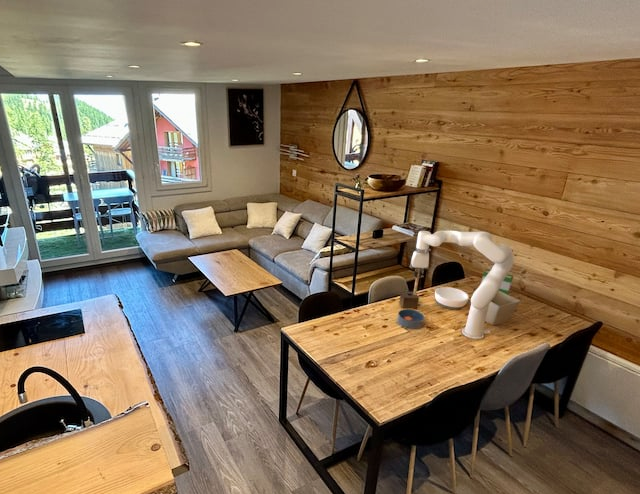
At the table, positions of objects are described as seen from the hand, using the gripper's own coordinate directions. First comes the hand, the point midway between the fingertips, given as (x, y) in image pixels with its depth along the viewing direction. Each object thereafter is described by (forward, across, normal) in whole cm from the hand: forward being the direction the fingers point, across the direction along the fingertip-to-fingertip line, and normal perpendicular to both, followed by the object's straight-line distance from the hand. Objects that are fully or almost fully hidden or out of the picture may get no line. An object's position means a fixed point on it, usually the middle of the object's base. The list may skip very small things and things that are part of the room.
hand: (417, 276), depth 253 cm
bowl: (+29, -32, -21) cm, 48 cm away
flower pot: (+29, -53, -1) cm, 61 cm away
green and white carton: (+29, -62, -24) cm, 73 cm away
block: (+28, +5, +12) cm, 31 cm away
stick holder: (+29, -1, -14) cm, 32 cm away
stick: (+13, 0, 0) cm, 13 cm away
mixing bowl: (+29, +3, +10) cm, 31 cm away
